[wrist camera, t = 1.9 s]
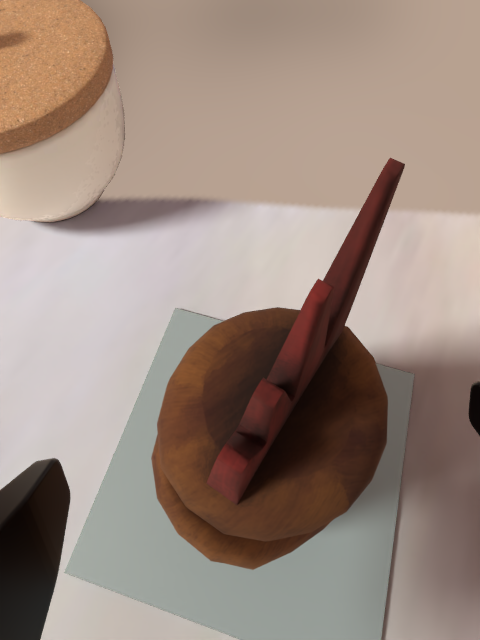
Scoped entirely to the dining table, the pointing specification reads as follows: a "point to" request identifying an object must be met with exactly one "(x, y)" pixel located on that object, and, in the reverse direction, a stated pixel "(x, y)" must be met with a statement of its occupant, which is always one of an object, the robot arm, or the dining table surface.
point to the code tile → (232, 581)
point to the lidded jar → (56, 109)
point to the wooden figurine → (276, 416)
